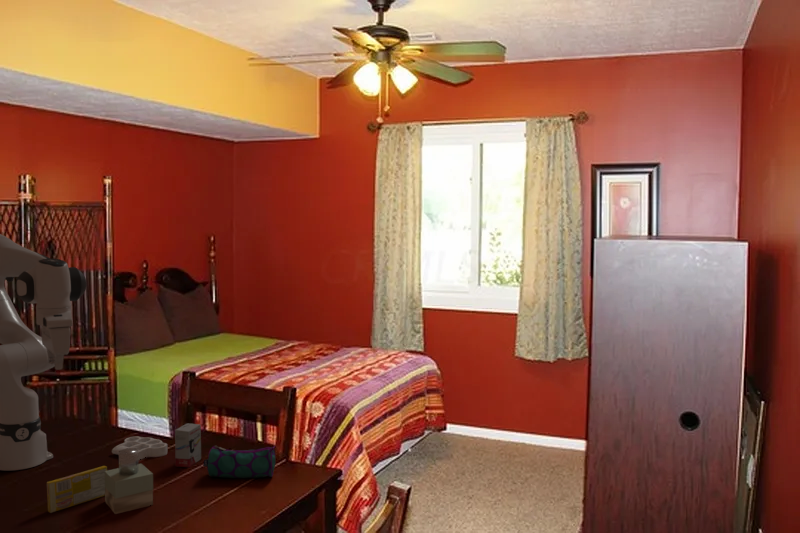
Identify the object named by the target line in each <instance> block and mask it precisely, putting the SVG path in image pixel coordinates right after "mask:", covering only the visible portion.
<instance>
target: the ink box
mask: <svg viewBox="0 0 800 533" xmlns="http://www.w3.org/2000/svg"><path fill="white" fill-rule="evenodd" d="M201 427H202V426H201V424H199V423H197V424H196V423H191V422H190V423H185V424H184V425H181V426H180V427H177V428H176V429H175V430H174V436H175V437H174V441H175V443H174V445H175V447H174V448H175V449H174V450H175V451H174V452H175V455H174V456H175V467H178V468H179V467H181V468H190V467H192V466H193V465H195V464H196V463H197V462H199V461H200V460H201V459H202V439H201V438H202V436H201V435H202V434H201V433H202V428H201Z"/></svg>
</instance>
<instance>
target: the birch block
mask: <svg viewBox="0 0 800 533" xmlns="http://www.w3.org/2000/svg"><path fill="white" fill-rule="evenodd" d="M153 499H154V489H153V490H150V491H146V492H141V493H137V494H133V495H129V496H124V497H120V498H116V499H115V498H114V496H113V495H112V494H111V493H110V492H109V491H108V490H107V489H106V488H105V496H104V500H105V501H104V502H105V504H106V505H107V506H108V507H109V508H110V510H111V511H112V513H114V515H117V514H121V513H125V512H130V511H135V510H138V509H142V508H147V507H150V505H151V506H153V505H154V500H153Z"/></svg>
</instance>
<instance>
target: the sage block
mask: <svg viewBox="0 0 800 533" xmlns="http://www.w3.org/2000/svg"><path fill="white" fill-rule="evenodd" d="M138 467H139V472H138V473H136V474H134V475H129V476H123V475H120V474H119V467H117V468H113V469H107V471H105V488H106V489H107V490H108V491H109V492H110V493H111V494H112V495H113V496H114V498H115V499H116V498H120V497H124V496H129V495H133V494H137V493H141V492H146V491H150V490H153V491H154V473H153V472H152V471H150V470H149V469H148V468H147V467H146V466H145V465H144V464H143V463H138Z"/></svg>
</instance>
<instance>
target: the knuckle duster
mask: <svg viewBox="0 0 800 533" xmlns="http://www.w3.org/2000/svg"><path fill="white" fill-rule="evenodd" d="M123 441H124V442H123V443H120V444H118V445H116V446H114V447H113V448H112V449H111V453H112V454H113V455H117V456H119V451H120V450H122V449H126V448H136V449H138V461H141V460H143V459H145V457H146V458H159V457H163V456H167V454H168V443H166V442H163V441H162V440H161V439H159V438H157V439H156V438H153V437H143V436H138V435H137V436H130V437H127V438H124V440H123ZM140 459H141V460H140Z"/></svg>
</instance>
